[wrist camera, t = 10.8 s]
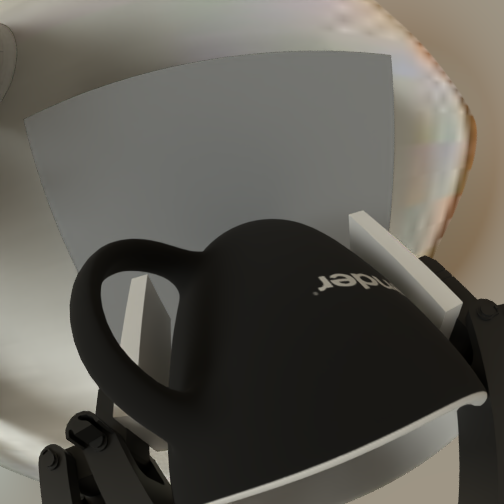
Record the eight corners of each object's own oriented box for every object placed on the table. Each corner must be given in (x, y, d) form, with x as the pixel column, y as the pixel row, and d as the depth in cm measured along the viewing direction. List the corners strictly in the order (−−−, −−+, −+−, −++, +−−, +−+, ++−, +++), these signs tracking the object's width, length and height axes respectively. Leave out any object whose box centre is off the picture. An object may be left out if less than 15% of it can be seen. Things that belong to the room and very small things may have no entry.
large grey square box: (134, 299, 27) (127, 364, 21) (69, 104, 17) (18, 116, 11) (340, 252, 29) (381, 302, 23) (333, 55, 19) (394, 50, 13)
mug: (376, 252, 15) (501, 400, 7) (268, 360, 18) (323, 514, 9) (179, 99, 9) (143, 177, 1) (74, 278, 12) (20, 500, 4)
